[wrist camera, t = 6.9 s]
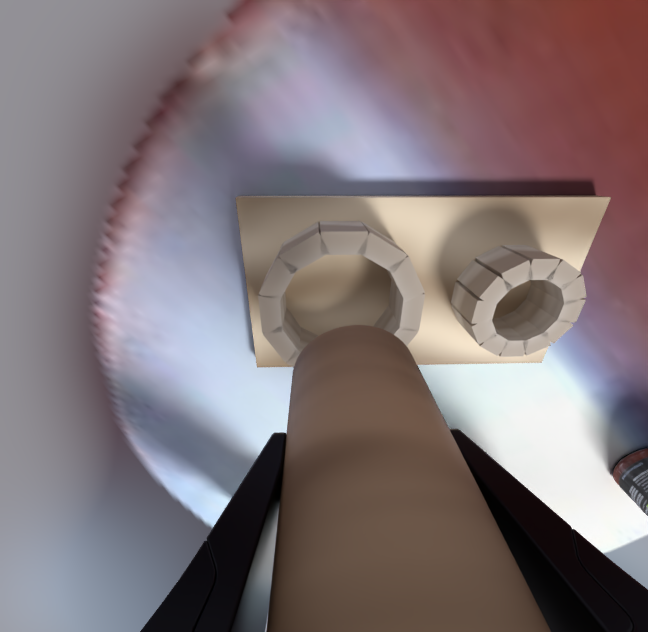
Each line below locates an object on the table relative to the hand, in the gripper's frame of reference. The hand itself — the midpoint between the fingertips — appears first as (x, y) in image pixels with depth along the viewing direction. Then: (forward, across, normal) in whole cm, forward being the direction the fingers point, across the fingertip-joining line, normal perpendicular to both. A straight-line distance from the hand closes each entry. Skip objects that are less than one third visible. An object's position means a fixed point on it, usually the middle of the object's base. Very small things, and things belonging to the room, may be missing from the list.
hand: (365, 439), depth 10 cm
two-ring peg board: (+13, -5, 0) cm, 14 cm away
